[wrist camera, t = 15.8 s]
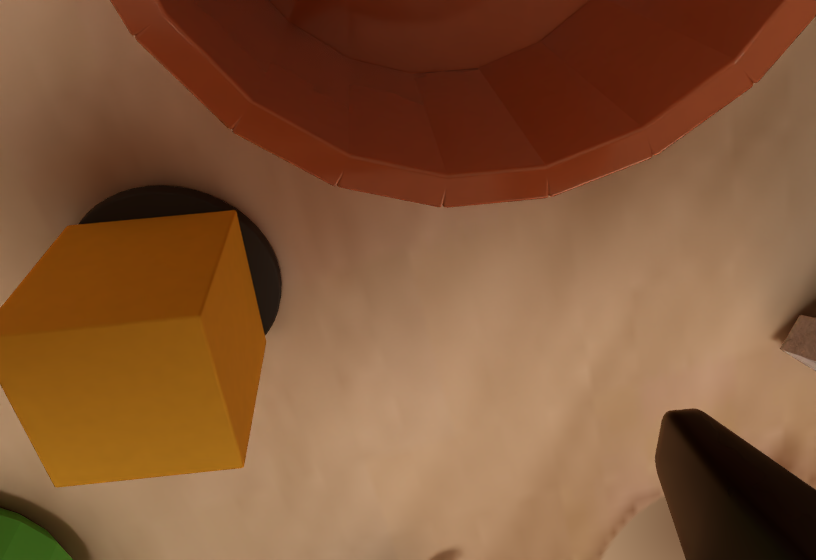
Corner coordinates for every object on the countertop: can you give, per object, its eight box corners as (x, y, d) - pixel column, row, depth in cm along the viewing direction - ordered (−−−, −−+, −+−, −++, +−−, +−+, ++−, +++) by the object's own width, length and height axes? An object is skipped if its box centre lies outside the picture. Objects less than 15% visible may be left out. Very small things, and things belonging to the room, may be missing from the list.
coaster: (261, 174, 17) (258, 182, 17) (296, 350, 20) (295, 359, 20) (35, 195, 17) (27, 203, 17) (106, 369, 20) (101, 379, 20)
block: (236, 208, 17) (199, 315, 13) (266, 341, 20) (244, 469, 15) (66, 224, 17) (-27, 337, 13) (118, 356, 19) (54, 488, 15)
